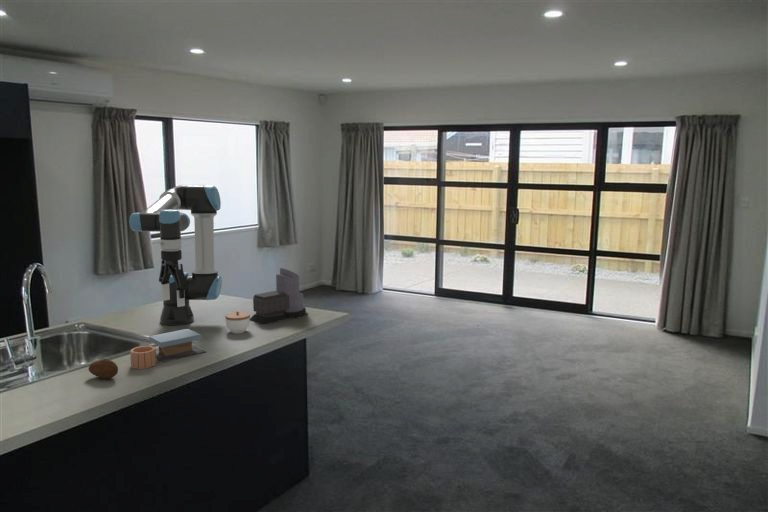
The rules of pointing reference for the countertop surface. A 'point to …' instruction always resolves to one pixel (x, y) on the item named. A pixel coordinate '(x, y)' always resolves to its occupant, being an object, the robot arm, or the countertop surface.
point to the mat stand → (177, 351)
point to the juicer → (280, 300)
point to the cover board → (174, 338)
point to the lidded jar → (237, 321)
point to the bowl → (143, 357)
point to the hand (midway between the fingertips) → (173, 303)
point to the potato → (103, 368)
